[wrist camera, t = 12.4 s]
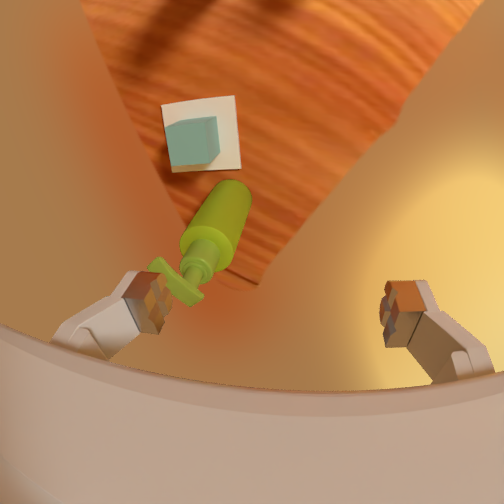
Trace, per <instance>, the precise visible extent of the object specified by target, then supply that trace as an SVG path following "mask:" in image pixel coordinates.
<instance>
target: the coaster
mask: <svg viewBox="0 0 504 504" xmlns="http://www.w3.org/2000/svg"><path fill="white" fill-rule="evenodd" d="M161 107H162V114H163V120H164V127H167V126H169V125H171V124H173V123H175V122H177V121H180V120H185V119H193V118H201V117H210V116H216V117H217V126H218V135H219V144H220V153H219V154H218V155H217V156H216V157H215V158H214V159H213V161H212V162H211V163H206V164H192V165H180V166H171V168H172V173H175V172H188V171H204V170H222V169H241V157H240V147H239V136H238V125H237V115H236V104H235V95H232V96H222V97H212V98H204V99H197V100H190V101H183V102H177V103H171V104H165V105H161ZM169 157H170V156H169ZM170 163H171V162H170Z"/></svg>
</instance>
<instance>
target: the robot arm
mask: <svg viewBox="0 0 504 504" xmlns="http://www.w3.org/2000/svg"><path fill="white" fill-rule="evenodd" d="M166 283H167V279H166V276H165V274H163V273H156V272H144V271H128V272H127V273H126V275H125V276H124V277H123V279H122V280H121V282H120V283H119V284H118V286H117V287H116V288H115V290H114V291H113V293H112V294H111V296H106V297H105V298H103V299H101V300H99V301H98V302H96V303H94V304H93V305H91V306H89V307H88V308H86V309H84V310H83V311H81V312H79V313H78V314H76V315H74V316H73V317H71V318H69V319H68V320H66V321H64V322H63V323H62V325H61V326H60V327H59V329H58V330H57V332H56V333H55V335H54V336H53V338H52V339H51V341H50V342H49V343H48V342H45V341H42V340H40V339H37V338H34V337H32V336H30V335H27V334H24V333H22V332H20V331H17V330H15V329H12V328H10V327H8V326H6V325H4V324H1V323H0V504H504V371H501V372H497V373H495V371H494V367H493V365H492V362H491V359H490V357H489V354H488V351H487V348H486V346H485V345H483V344H482V343H481V342H480V341H479V340H478V339H476V338H475V337H474V336H473V335H472V334H471V333H469V332H468V331H467V330H466V329H465V328H463V327H462V326H461V325H460V324H459V323H457V322H456V321H455V320H454V319H453V318H451V317H450V316H449V315H448V314H446V313H445V312H444V311H440V310H439V308H438V305H437V303H436V301H435V298H434V296H433V294H432V291H431V289H430V287H429V285H428V283H427V281H426V280H413V281H387V283H386V285H385V289H384V290H385V293H386V295H385V296H384V297H383V298H382V300H381V304H380V312H379V314H380V322H381V324H382V325H383V326H384V327H385V328H384V332H383V337H384V342H385V347H386V348H388V347H389V348H392V347H407V349H408V350H409V352H410V353H411V354H412V355H413V357H414V358H415V359H416V360H417V361H418V363H419V364H420V365H421V366H422V367H423V369H424V370H425V371H426V373H427V374H428V375H429V376H430V377H431V379H432V380H433V382H432V383H431V384H430V385H424V386H415V387H405V388H394V389H380V390H361V391H300V390H279V389H265V388H253V387H242V386H233V385H225V384H217V383H210V382H203V381H197V380H190V379H185V378H179V377H174V376H168V375H163V374H158V373H153V372H148V371H144V370H140V369H135V368H131V367H127V366H123V365H119V364H115V363H112V362H109V359H110V358H111V357H113V356H114V355H115V354H116V353H117V352H119V351H120V350H121V349H122V348H123V347H124V346H125V345H127V344H128V343H129V342H130V341H132V340H133V339H134V338H135V337H136V336H137V335H139V334H140V332H143V333H151V334H159V333H160V331H161V329H162V326H163V325H164V323H165V321H164V318H163V317H165V316H166V315H168V314H169V312H170V310H171V307H172V294H171V291H170V290H169V289H168V288H167V287H166V286H165V285H166Z"/></svg>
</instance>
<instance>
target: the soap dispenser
mask: <svg viewBox="0 0 504 504" xmlns="http://www.w3.org/2000/svg"><path fill="white" fill-rule="evenodd" d="M251 204H252V196H251V193H250V191H249V189H248V188H247V187H246V186H245V185H244V184H243V183H241V182H239V181H237V180H231V179H229V180H223V181H221V182H219V183H218V184H217V185H216V186H215V187H214V188H213V190H212V191H211V193H210V194H209V196H208V197H207V199H206V200H205V201H204V203H203V204H202V206H201V207H200V209H199V210H198V212H197V213H196V215H195V216H194V218H193V219H192V221H191V222H190V224H189V225H188V227H187V228H186V230H185V231H184V233H183V235H182V236H181V239H180V251H181V253H182V255H183V258H182V260H181V262H180V266H179V268H180V272H181V274H182V275H183V277H181V276H180V275H179V274H178V273H177V272H175V271H174V270H173V269H172V268H171V267H170V266H169V264H168V263H167V262H166V261H165V260H164V259H163V258H162V257H157V258H155V259H154V260H153V261H152V262H151V263H150V264H149V265H148V266H147V269H148V270H149V271H150V272H156V273H163V274H165V276H166V279H167V283H166V285H165V286H166V287H167V288H168V289H169V290H170V291H171V294H172V295H174V296H175V297H176V298H178V299H179V300H180V301H182V302H183V303H185V304H186V305H188V306H189V307H191V306H193V305H194V304H196V303H198V302H199V301H201V300H202V299H203V298H204V294H203V293H201V292H200V291H199V290H198V286H199V284H205V283H207V282H208V281H210V280H211V278H212V276H213V274H214V272H218V271H221V270H223V269H225V268H226V267H227V266H228V265H229V264H230V263H231V261H232V259H233V256H234V253H235V250H236V247H237V244H238V241H239V238H240V236H241V233H242V230H243V227H244V224H245V221H246V218H247V216H248V213H249V210H250V207H251Z"/></svg>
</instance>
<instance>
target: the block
mask: <svg viewBox="0 0 504 504" xmlns="http://www.w3.org/2000/svg"><path fill="white" fill-rule="evenodd" d="M165 133H166V139H167V145H168V151H169V156H170V162H171V166H180V165H192V164H206V163H211V162H212V161H213V159H214V158H215V157H216V156H217V155H218V154H219V153H220V144H219V135H218V126H217V117H216V116H210V117H201V118H193V119H185V120H180V121H177V122H175V123H173V124H171V125H169V126H167V127H165Z"/></svg>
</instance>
